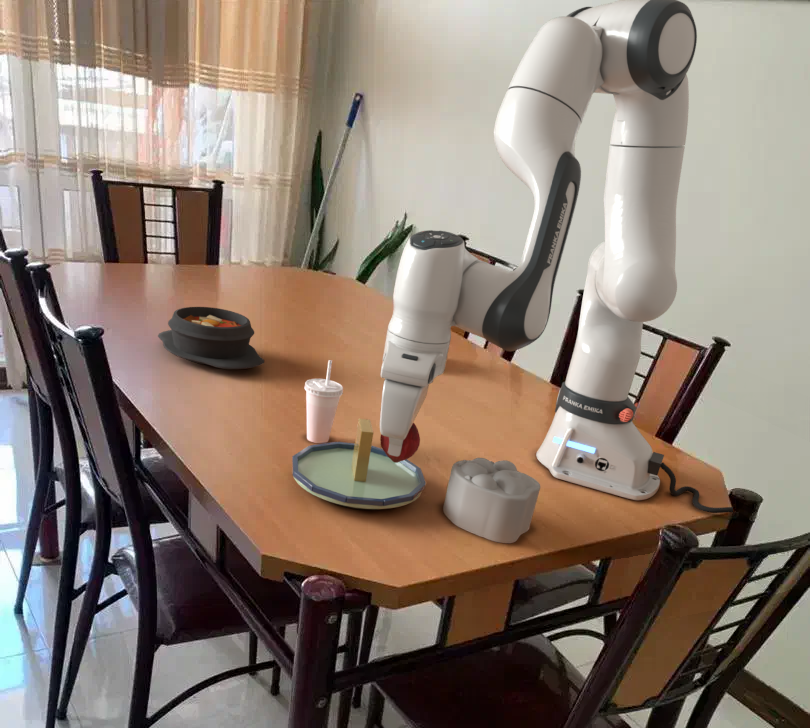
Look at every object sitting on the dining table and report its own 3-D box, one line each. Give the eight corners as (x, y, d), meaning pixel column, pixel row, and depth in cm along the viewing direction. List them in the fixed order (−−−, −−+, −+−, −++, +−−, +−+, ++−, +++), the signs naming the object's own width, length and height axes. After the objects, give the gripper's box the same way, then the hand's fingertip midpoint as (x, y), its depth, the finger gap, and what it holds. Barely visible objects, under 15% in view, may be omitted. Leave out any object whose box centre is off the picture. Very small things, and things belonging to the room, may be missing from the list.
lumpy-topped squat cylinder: (507, 548, 114) (522, 493, 110) (429, 515, 119) (440, 462, 115) (535, 524, 122) (549, 472, 118) (460, 494, 127) (471, 444, 123)
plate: (432, 514, 116) (443, 460, 111) (292, 502, 112) (299, 445, 107) (412, 457, 133) (421, 407, 129) (290, 444, 129) (296, 394, 125)
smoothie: (321, 449, 133) (331, 368, 127) (291, 437, 136) (299, 357, 129) (343, 440, 138) (354, 362, 132) (313, 428, 141) (323, 350, 134)
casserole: (284, 371, 165) (288, 331, 161) (210, 383, 152) (212, 339, 148) (210, 335, 178) (212, 297, 174) (135, 343, 165) (135, 302, 161)
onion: (422, 466, 121) (432, 416, 117) (397, 473, 116) (406, 422, 113) (395, 451, 124) (403, 402, 120) (368, 458, 120) (377, 407, 116)
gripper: (406, 332, 121) (391, 417, 128) (379, 368, 103) (363, 465, 110) (446, 341, 121) (429, 426, 128) (426, 379, 103) (408, 476, 110)
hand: (398, 445), depth 119 cm, fingers closed on onion, 6 cm apart
